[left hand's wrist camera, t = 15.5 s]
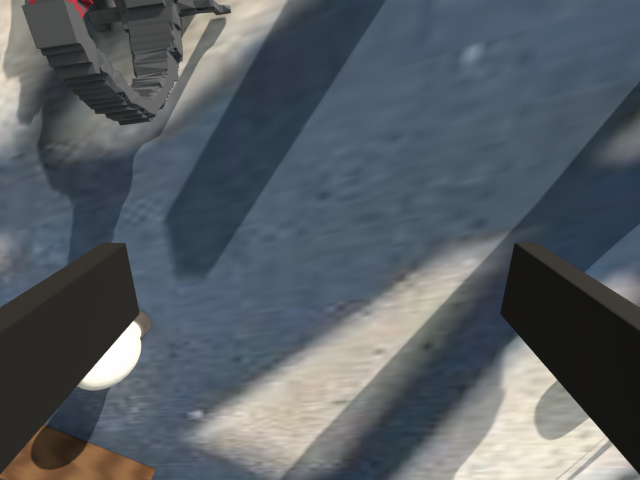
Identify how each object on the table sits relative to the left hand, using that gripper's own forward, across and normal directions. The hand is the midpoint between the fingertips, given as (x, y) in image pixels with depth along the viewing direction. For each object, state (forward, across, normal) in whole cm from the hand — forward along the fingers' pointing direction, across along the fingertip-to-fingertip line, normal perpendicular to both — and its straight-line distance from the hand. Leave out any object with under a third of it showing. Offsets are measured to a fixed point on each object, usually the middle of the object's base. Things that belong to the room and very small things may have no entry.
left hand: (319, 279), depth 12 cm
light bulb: (+30, -24, -21) cm, 44 cm away
